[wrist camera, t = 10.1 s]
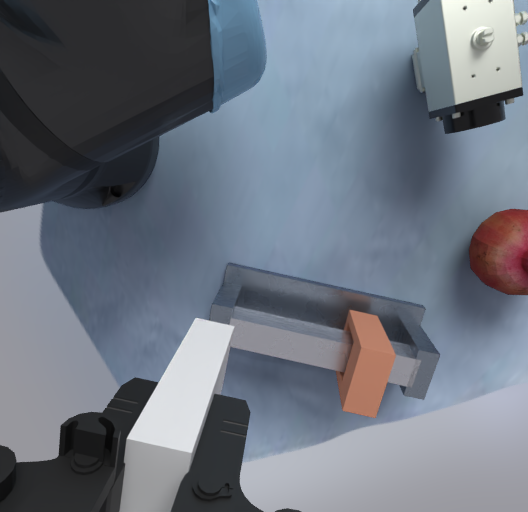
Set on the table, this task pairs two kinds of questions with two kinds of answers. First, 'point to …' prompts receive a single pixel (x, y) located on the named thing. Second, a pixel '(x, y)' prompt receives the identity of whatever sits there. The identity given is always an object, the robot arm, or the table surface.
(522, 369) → the table surface
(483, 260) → the fruit
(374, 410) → the terracotta rectangular block
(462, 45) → the pneumatic valve
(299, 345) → the grey rail frame
